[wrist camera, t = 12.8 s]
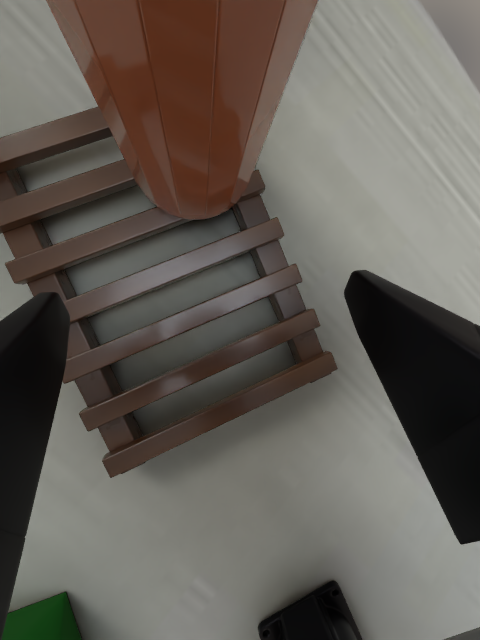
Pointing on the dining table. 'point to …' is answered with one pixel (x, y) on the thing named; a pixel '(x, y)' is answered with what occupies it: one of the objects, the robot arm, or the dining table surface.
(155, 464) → the dining table surface
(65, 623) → the milk carton
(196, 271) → the drying rack
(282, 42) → the tumbler
